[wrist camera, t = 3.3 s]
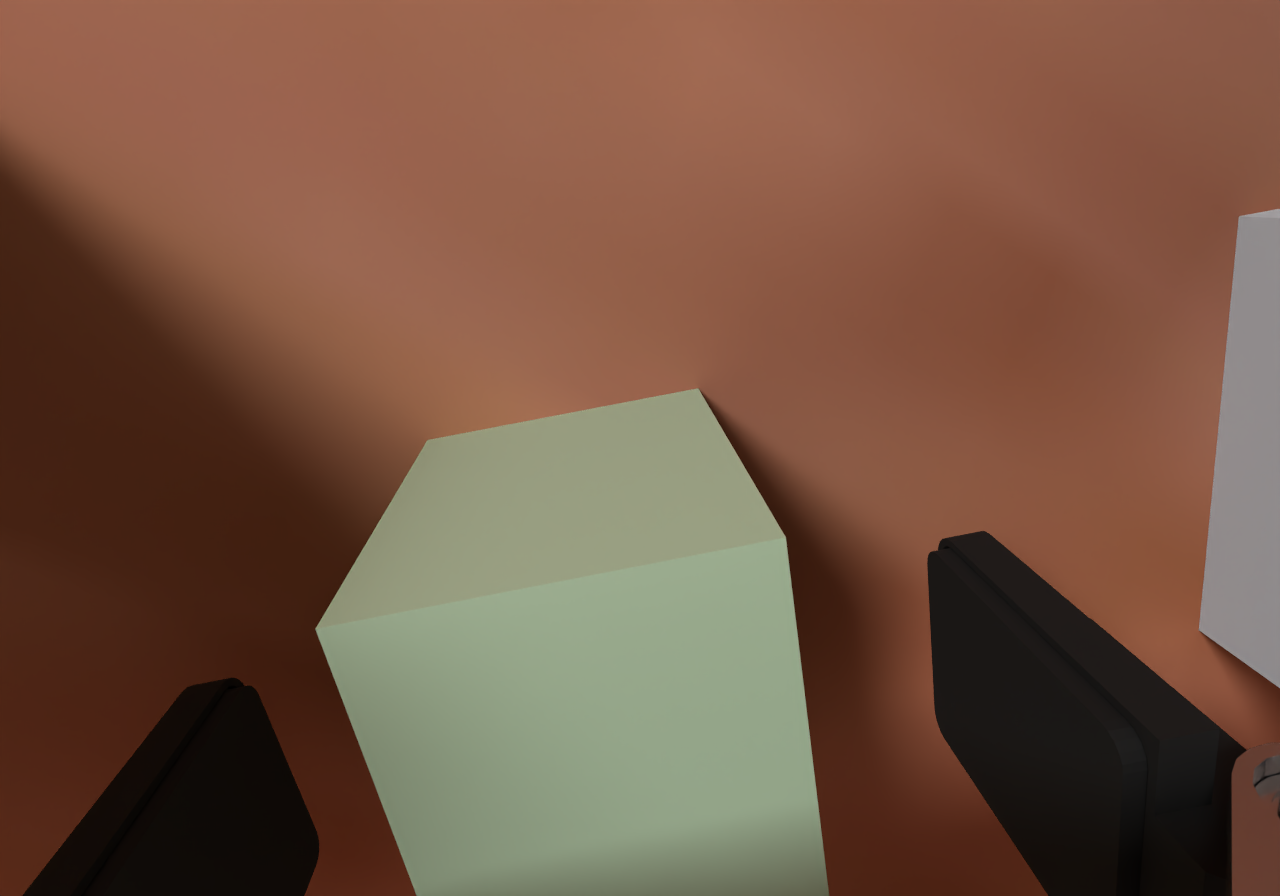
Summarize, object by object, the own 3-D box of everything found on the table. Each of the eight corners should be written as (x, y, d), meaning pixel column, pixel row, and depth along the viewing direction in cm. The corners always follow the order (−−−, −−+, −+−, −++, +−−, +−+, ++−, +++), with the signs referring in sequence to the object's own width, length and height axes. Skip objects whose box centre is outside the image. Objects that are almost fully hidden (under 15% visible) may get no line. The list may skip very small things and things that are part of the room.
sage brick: (429, 438, 11) (315, 629, 6) (697, 386, 11) (785, 537, 6) (534, 803, 13) (510, 1142, 9) (754, 759, 13) (850, 1072, 9)
